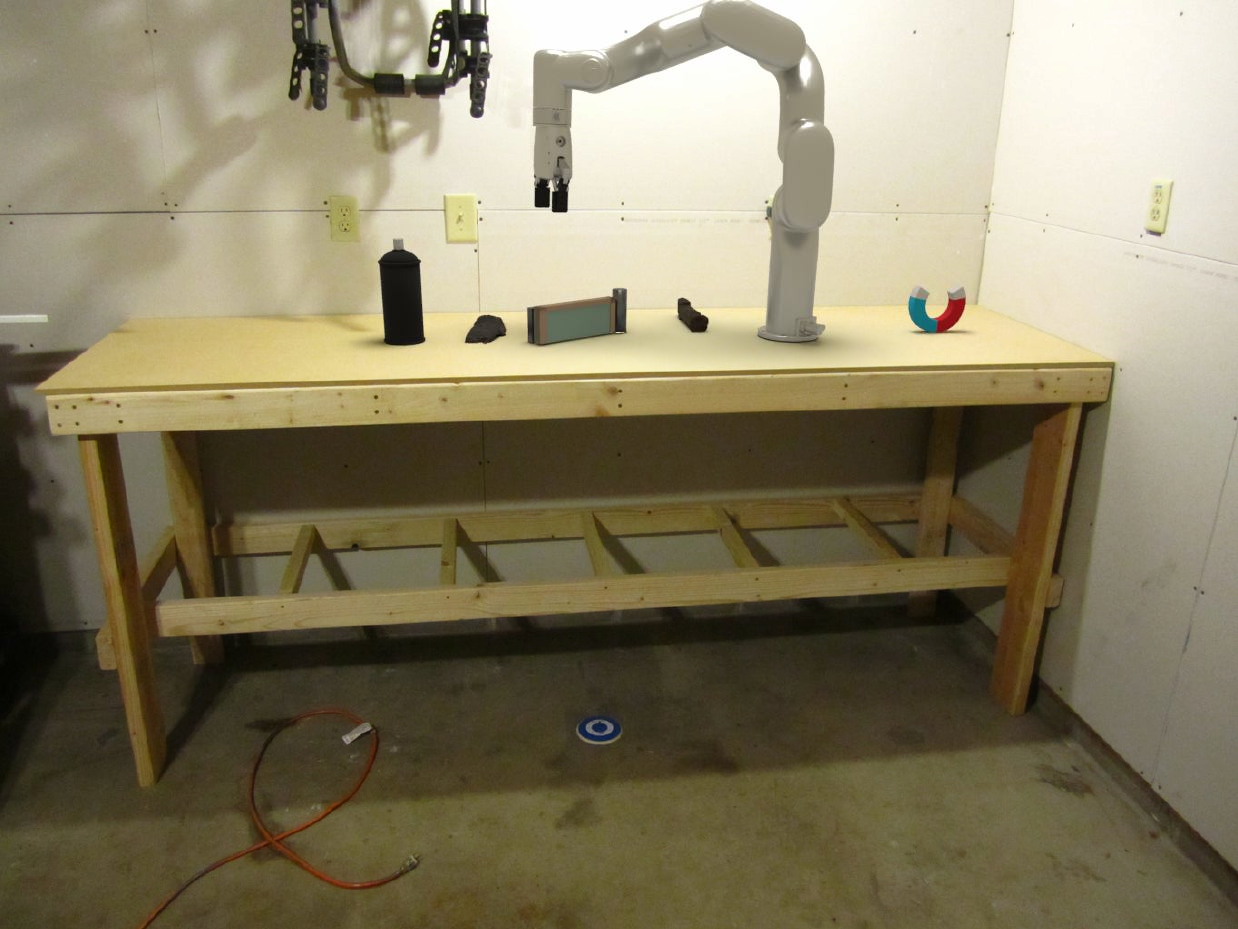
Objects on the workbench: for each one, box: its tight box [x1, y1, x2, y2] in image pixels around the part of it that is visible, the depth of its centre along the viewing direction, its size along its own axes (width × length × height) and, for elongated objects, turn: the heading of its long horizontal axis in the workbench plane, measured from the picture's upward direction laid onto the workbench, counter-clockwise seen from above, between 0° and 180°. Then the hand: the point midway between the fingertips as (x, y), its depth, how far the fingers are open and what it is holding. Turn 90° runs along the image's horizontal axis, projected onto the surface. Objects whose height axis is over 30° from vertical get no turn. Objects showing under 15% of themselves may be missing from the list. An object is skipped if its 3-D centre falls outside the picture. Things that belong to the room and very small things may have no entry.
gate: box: [533, 295, 615, 345], centre depth 190 cm, size 2×19×7 cm, turn 130°
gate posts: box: [526, 287, 628, 344], centre depth 192 cm, size 3×23×9 cm, turn 124°
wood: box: [464, 314, 508, 345], centre depth 196 cm, size 22×7×3 cm, turn 179°
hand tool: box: [676, 297, 710, 333], centre depth 207 cm, size 19×4×5 cm, turn 7°
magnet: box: [907, 284, 967, 334], centre depth 201 cm, size 12×3×10 cm, turn 97°
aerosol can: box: [377, 237, 426, 346], centre depth 184 cm, size 8×8×20 cm
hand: (550, 209), depth 189 cm, fingers open, 9 cm apart
